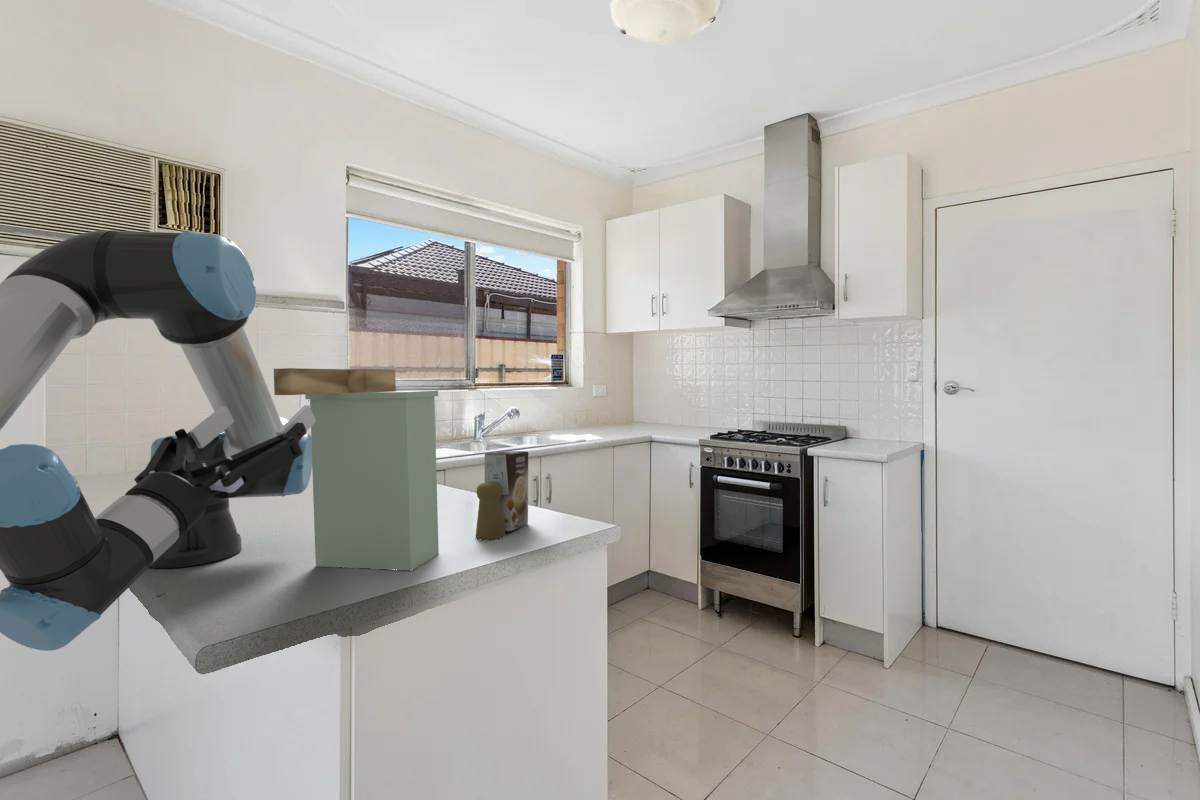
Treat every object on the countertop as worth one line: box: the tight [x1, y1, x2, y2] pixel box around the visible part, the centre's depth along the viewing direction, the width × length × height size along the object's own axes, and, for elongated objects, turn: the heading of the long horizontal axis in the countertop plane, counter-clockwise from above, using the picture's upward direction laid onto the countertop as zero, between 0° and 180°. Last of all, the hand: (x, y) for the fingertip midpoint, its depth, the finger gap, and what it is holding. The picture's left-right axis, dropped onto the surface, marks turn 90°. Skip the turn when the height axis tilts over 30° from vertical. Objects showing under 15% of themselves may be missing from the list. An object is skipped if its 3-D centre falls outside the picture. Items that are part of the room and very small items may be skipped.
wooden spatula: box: [273, 367, 397, 396], centre depth 100 cm, size 10×22×4 cm, turn 167°
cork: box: [475, 482, 506, 541], centre depth 120 cm, size 6×6×11 cm
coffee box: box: [484, 450, 529, 532], centre depth 127 cm, size 9×6×16 cm
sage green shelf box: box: [304, 390, 440, 571], centre depth 105 cm, size 19×11×30 cm, turn 79°
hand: (268, 413), depth 85 cm, fingers open, 13 cm apart
